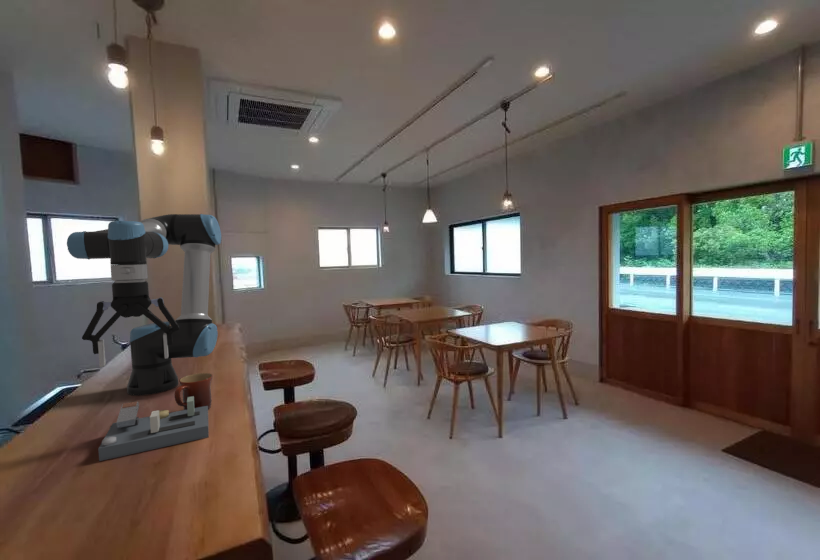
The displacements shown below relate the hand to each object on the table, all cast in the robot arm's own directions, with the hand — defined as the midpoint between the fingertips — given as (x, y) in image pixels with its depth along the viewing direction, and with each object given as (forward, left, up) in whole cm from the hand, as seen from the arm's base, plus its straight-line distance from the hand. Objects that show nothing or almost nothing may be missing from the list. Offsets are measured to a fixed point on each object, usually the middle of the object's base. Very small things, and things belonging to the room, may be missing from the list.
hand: (135, 361), depth 97 cm
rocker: (+2, -2, -13) cm, 13 cm away
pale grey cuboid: (+9, +4, -16) cm, 19 cm away
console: (+5, +5, -19) cm, 20 cm away
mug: (-7, +12, -19) cm, 24 cm away
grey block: (+3, +12, -16) cm, 20 cm away
